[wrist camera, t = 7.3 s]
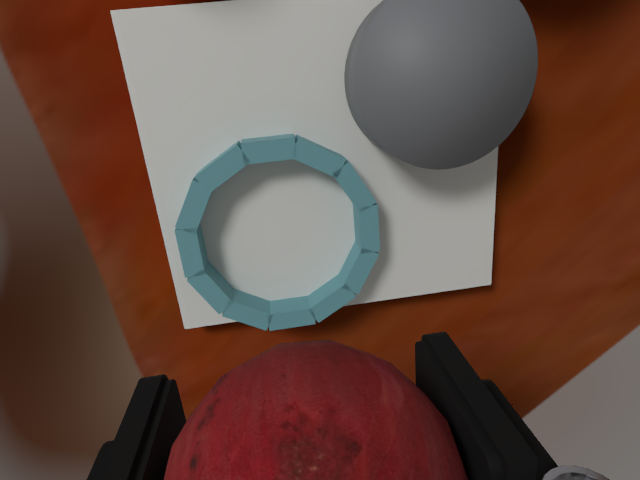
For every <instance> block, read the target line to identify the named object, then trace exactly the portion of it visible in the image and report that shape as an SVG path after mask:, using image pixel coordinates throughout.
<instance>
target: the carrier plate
mask: <svg viewBox="0 0 640 480" xmlns="http://www.w3.org/2000/svg"><path fill="white" fill-rule="evenodd" d="M110 12H111V16H112V21H113V25H114V29H115V34H116V38H117V42H118V46H119V51H120V55H121V59H122V63H123V68H124V72H125V76H126V81H127V85H128V89H129V93H130V98H131V102H132V106H133V110H134V115H135V119H136V123H137V127H138V132H139V136H140V140H141V145H142V149H143V153H144V157H145V162H146V166H147V170H148V174H149V179H150V183H151V187H152V191H153V196H154V200H155V204H156V209H157V213H158V217H159V221H160V226H161V230H162V234H163V238H164V243H165V247H166V251H167V256H168V260H169V264H170V268H171V273H172V277H173V281H174V285H175V290H176V294H177V298H178V302H179V307H180V311H181V315H182V320H183V324H184V328H185V329H189V328H196V327H203V326H210V325H217V324H224V323H231V322H241V323H244V324H247V325H251V326H254V327H257V328H260V329H263V330H266V331H267V328H268V326H269V330H270V331H273V330H279V329H286V328H293V327H300V326H306V325H313V324H316V323H315V319H316V320H317V322H318V323H319V322H321V321H322V320H324V319H325V318H327V317H328V316H329V315H331V314H332V313H334V312H335V311H337V310H338V309H340V308H341V307H342V306H348V305H355V304H362V303H368V302H375V301H382V300H389V299H396V298H403V297H410V296H417V295H424V294H430V293H437V292H444V291H451V290H458V289H465V288H472V287H479V286H486V285H491V280H492V260H493V240H494V220H495V200H496V181H497V161H498V146H499V145H500V144H501V143H502V142H503V141H504V140H505V139H506V138H507V137H508V136H509V135H510V133H511V132H512V131H513V130H514V128H515V127H516V126H517V124H518V123H519V121H520V120H521V118H522V116H523V114H524V112H525V110H526V108H527V106H528V104H529V102H530V99H531V96H532V93H533V90H534V86H535V82H536V76H537V68H538V51H537V41H536V37H535V32H534V28H533V26H532V23H531V20H530V18H529V16H528V14H527V12H526V10H525V8H524V6H523V5H522V3H521V2H520V1H519V0H231V1H219V2H207V3H195V4H183V5H171V6H159V7H147V8H135V9H123V10H111V11H110Z"/></svg>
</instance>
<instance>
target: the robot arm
mask: <svg viewBox="0 0 640 480" xmlns="http://www.w3.org/2000/svg"><path fill="white" fill-rule="evenodd" d="M415 364H416V386H417V387H418V388H419V389H420V390H421V391H422V392H424V393H425V394H426V396H427V397H428V398H429V399H430V401H431V402H432V403H433V404H434V406H435V407H436V408H437V409H438V410H439V412H440V413H441V414H442V415H443V417H444V418H445V419H446V420H447V422H448V424H449V427H450V430H451V433H452V435H453V438H454V441H455V444H456V446H457V449H458V452H459V455H460V457H461V460H462V463H463V466H464V469H465V471H466V474H467V477H468V480H609V479H608V478H606V477H604V476H603V475H601V474H599V473H597V472H594V471H592V470H590V469H587V468H582V467H578V466H560V467H558V466H557V464H556V463H555V462H554V460H553V459H552V458H551V457H550V455H549V454H548V453H547V451H546V450H545V449H544V447H543V446H542V445H541V443H540V442H539V441H538V440H537V438H536V437H535V436H534V434H533V433H532V432H531V430H530V429H529V428H528V427H527V425H526V424H525V423H524V421H523V420H522V419H521V417H520V416H519V415H518V413H517V412H516V411H515V410H514V408H513V407H512V406H511V404H510V403H509V402H508V400H507V399H506V398H505V397H504V395H503V394H502V393H501V391H500V390H499V389H498V387H497V386H496V385H495V384H494V383H493V382H492V381H491V380H488V379H487V380H481V379H480V378H479V376H478V375H477V374H476V372H475V371H474V370H473V368H472V367H471V366H470V364H469V363H468V361H467V360H466V359H465V357H464V356H463V355H462V353H461V352H460V350H459V349H458V348H457V346H456V345H455V344H454V342H453V341H452V340H451V338H450V337H449V335H448V334H447V333H446V332H439V333H432V334H426V335H423V336H422V341H419V342H416V344H415ZM185 423H186V419H185V415H184V411H183V407H182V403H181V399H180V395H179V391H178V387H177V384H176V381H175V380H174V379H172V380H168V378H167V376H166V375H157V376H151V377H144V378H141V379H140V380H139V381H138V384H137V386H136V389H135V391H134V394H133V396H132V398H131V401H130V403H129V406H128V408H127V410H126V413H125V415H124V418H123V420H122V422H121V425H120V427H119V430H118V432H117V435H116V437H115V439H114V441H108V442H106V443H105V444H103V446H102V447H101V449H100V451H99V453H98V456H97V458H96V460H95V462H94V464H93V467H92V469H91V472H90V474H89V476H88V478H87V480H163V479H164V475H165V471H166V467H167V463H168V459H169V455H170V452H171V448H172V445H173V443H174V442H175V440H176V438H177V437H178V435H179V433H180V432H181V430H182V428H183V427H184V425H185Z"/></svg>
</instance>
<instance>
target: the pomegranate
mask: <svg viewBox="0 0 640 480" xmlns="http://www.w3.org/2000/svg"><path fill="white" fill-rule="evenodd" d="M163 480H468V477H467V474H466V471H465V469H464V466H463V463H462V460H461V457H460V455H459V452H458V449H457V446H456V444H455V441H454V438H453V435H452V433H451V430H450V427H449V424H448V422H447V420H446V419H445V418H444V417H443V415H442V414H441V413H440V412H439V410H438V409H437V408H436V407H435V406H434V404H433V403H432V402H431V401H430V399H429V398H428V397H427V396H426V394H425V393H424V392H422V391H421V390H420V389H419V388H418V387H417V386H416V385H415V384H414V383H413V382H411V381H410V380H409V379H408V378H407V377H406V376H405V375H404V374H403V373H402V372H400V371H399V370H398V369H397V368H396V367H395V366H394V365H393V364H392V363H390V362H388V361H385V360H383V359H381V358H379V357H376V356H374V355H372V354H369V353H366V352H363V351H360V350H357V349H355V348H352V347H349V346H346V345H343V344H340V343H337V342H334V341H331V340H318V341H306V342H293V343H280V344H278V345H276V346H274V347H272V348H271V349H269V350H267V351H265V352H263V353H261V354H260V355H258V356H256V357H254V358H252V359H250V360H249V361H247V362H245V363H243V364H241V365H239V366H238V367H236V368H234V369H233V370H231V371H229V372H228V373H226V374H224V375H223V376H221V377H220V378H219V380H218V381H217V382H216V384H215V385H214V386H213V387H212V389H211V390H210V391H209V392H208V394H207V395H206V396H205V398H204V399H203V400H202V401H201V403H200V404H199V405H198V406H197V408H196V409H195V410H194V412H193V413H192V414H191V415H190V417H189V418H188V420H187V422H186V423H185V425H184V427H183V428H182V430H181V432H180V433H179V435H178V437H177V438H176V440H175V442H174V443H173V445H172V448H171V452H170V455H169V459H168V463H167V467H166V471H165V475H164V479H163Z"/></svg>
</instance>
